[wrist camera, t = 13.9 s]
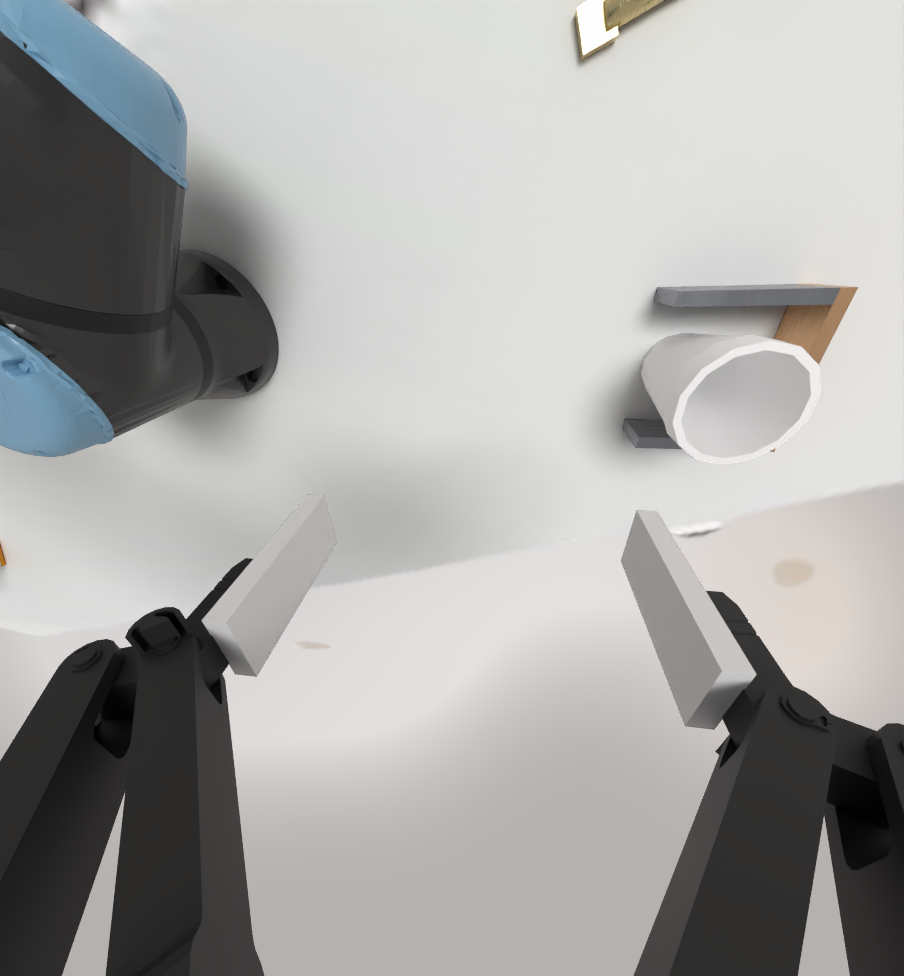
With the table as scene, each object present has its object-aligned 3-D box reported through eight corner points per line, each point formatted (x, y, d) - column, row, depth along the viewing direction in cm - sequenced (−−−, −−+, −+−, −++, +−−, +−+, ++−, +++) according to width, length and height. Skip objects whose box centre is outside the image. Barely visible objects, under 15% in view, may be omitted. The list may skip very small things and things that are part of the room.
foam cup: (707, 408, 39) (785, 465, 28) (618, 409, 40) (660, 464, 29) (738, 313, 34) (849, 337, 23) (636, 317, 35) (695, 343, 24)
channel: (622, 428, 41) (635, 447, 37) (657, 287, 34) (678, 291, 29) (745, 431, 40) (774, 451, 36) (812, 283, 32) (858, 287, 28)
